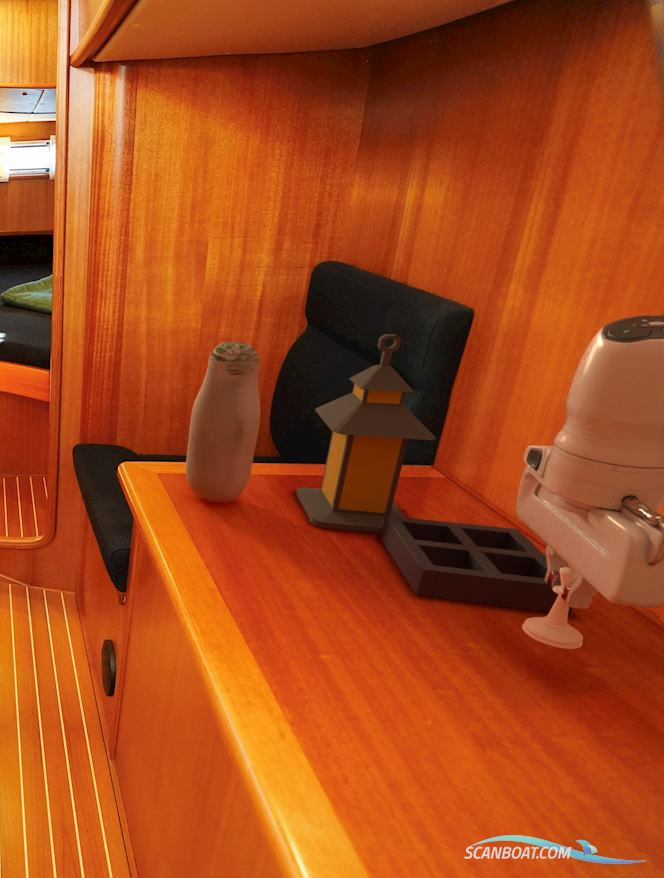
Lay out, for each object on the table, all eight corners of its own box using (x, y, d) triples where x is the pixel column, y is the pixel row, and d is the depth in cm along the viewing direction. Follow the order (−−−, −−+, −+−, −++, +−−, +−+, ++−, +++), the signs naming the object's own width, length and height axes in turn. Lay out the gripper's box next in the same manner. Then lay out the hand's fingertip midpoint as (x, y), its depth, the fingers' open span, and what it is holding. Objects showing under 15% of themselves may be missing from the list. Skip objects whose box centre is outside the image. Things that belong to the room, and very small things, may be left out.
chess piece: (511, 628, 78) (536, 550, 75) (539, 617, 80) (564, 540, 77) (564, 654, 74) (593, 572, 71) (593, 642, 76) (622, 561, 72)
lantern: (416, 537, 108) (466, 347, 97) (313, 526, 112) (351, 343, 102) (386, 499, 120) (428, 327, 110) (294, 491, 125) (326, 324, 114)
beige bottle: (170, 491, 126) (189, 339, 117) (219, 484, 129) (240, 333, 119) (207, 514, 117) (230, 351, 108) (258, 506, 120) (286, 345, 110)
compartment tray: (510, 553, 103) (517, 528, 101) (570, 615, 88) (580, 588, 87) (379, 538, 108) (385, 515, 106) (416, 595, 93) (423, 569, 92)
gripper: (721, 528, 60) (667, 660, 65) (588, 445, 78) (553, 553, 83) (627, 520, 62) (581, 648, 67) (518, 441, 80) (488, 547, 85)
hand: (565, 595), depth 75 cm, fingers closed on chess piece
